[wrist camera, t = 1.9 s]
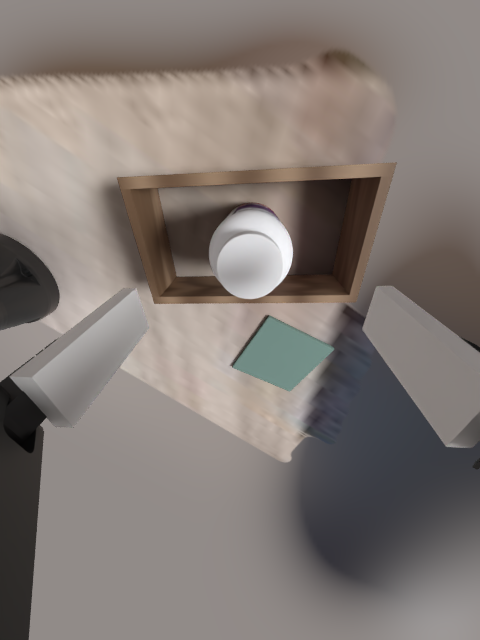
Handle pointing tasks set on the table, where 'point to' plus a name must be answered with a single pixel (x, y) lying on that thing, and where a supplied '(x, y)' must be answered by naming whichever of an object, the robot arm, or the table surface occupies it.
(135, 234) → the crate
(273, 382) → the mat
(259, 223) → the pill bottle
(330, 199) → the table surface
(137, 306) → the robot arm
